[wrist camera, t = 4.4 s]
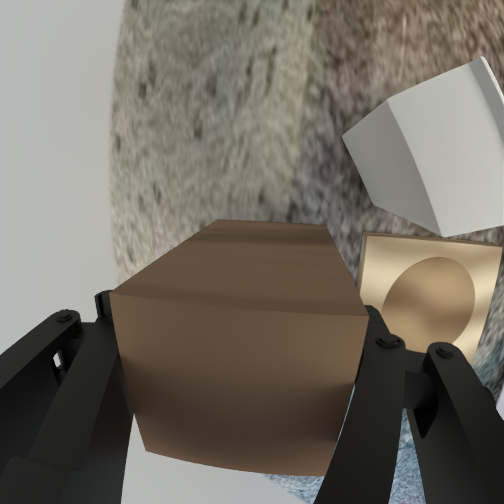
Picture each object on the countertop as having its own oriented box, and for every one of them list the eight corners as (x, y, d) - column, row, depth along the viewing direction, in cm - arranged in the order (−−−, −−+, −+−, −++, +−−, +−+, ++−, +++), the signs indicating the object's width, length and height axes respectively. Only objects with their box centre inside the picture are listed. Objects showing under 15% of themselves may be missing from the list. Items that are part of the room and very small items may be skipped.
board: (362, 231, 28) (367, 236, 26) (492, 243, 26) (503, 247, 24) (344, 358, 32) (346, 369, 30) (464, 355, 30) (471, 364, 28)
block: (217, 219, 17) (109, 293, 7) (325, 225, 17) (369, 316, 6) (218, 316, 19) (145, 450, 9) (315, 323, 18) (325, 476, 8)
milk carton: (372, 205, 27) (483, 260, 9) (340, 136, 26) (416, 75, 8) (432, 177, 26) (577, 195, 8) (403, 109, 25) (527, 45, 6)
